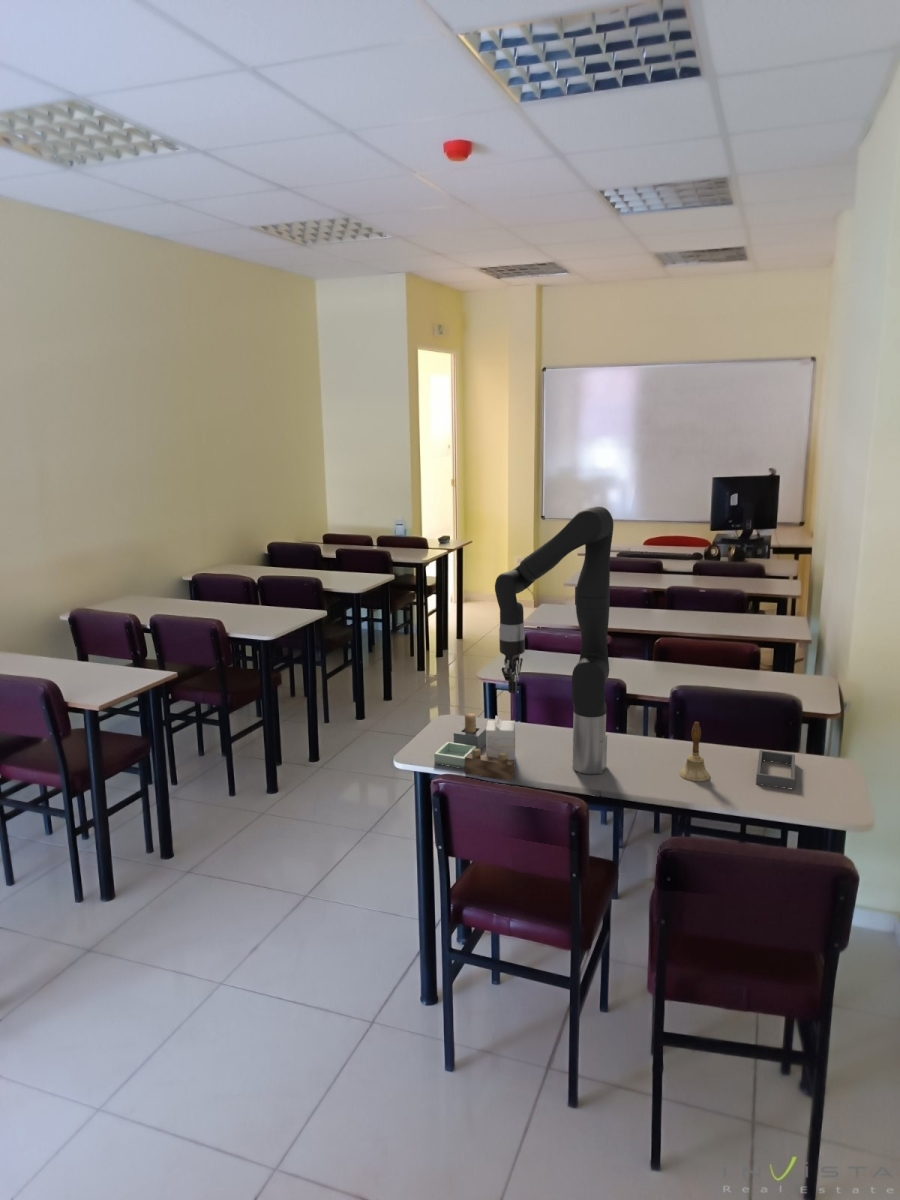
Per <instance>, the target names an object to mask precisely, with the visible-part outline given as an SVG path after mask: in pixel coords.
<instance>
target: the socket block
mask: <svg viewBox="0 0 900 1200" xmlns="http://www.w3.org/2000/svg"><path fill="white" fill-rule="evenodd" d="M486 727H487V726H479V725H476V733H475V734H472V733H465V723H463V724H462V725H461V726H459V728H458V729H456V730H455V731H454V732H453V743H459V744H465V745H472V746H477V749H480V750H481V749H482V748H483V747H484V746H486Z"/></svg>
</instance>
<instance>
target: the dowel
mask: <svg viewBox="0 0 900 1200" xmlns="http://www.w3.org/2000/svg"><path fill="white" fill-rule="evenodd" d="M464 724H465V733H472V734H475V733H476V726H477V717H476V714H475V713H472V712H468V713H465V714H464Z"/></svg>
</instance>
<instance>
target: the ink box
mask: <svg viewBox="0 0 900 1200" xmlns="http://www.w3.org/2000/svg"><path fill="white" fill-rule="evenodd" d="M485 727H486V744H485V756H489V757H495V758H499V753H506V754H507V759H508V760H514V761H515V762H516V721H515V720H502V719H501V718H500V717H499V716H497V715H495V718H494V719H493V720H491V719H489V720H487V723H486V726H485Z"/></svg>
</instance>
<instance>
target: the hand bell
mask: <svg viewBox="0 0 900 1200" xmlns="http://www.w3.org/2000/svg"><path fill="white" fill-rule="evenodd" d="M701 738H702V730H701V726H700V722H699V721H694V723H693V725H692V728H691V739H692V740H691V741H692V754H690V755H688V756H687V759H686V763H685V765H684V767H683V768H682V769H681V770H680V771H679V776H680V777H681V778H682V779H684V780H686V781H690V782H695V781H702V782H706V781H708V780H710V779H711V775H710V773H709V772H708V771H707V770H706V767H705V759H704V757H703V756H702V755H700V748H699V747H700V745H699V744H700V741H701Z"/></svg>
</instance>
